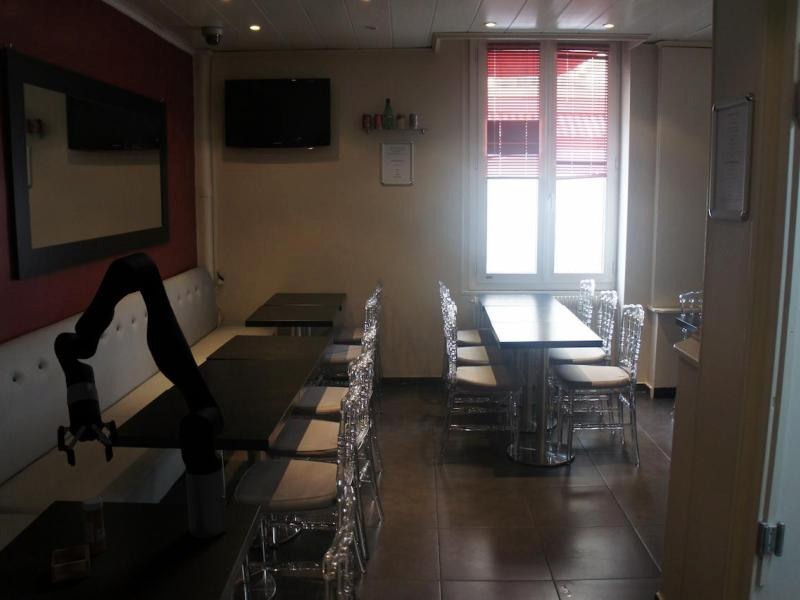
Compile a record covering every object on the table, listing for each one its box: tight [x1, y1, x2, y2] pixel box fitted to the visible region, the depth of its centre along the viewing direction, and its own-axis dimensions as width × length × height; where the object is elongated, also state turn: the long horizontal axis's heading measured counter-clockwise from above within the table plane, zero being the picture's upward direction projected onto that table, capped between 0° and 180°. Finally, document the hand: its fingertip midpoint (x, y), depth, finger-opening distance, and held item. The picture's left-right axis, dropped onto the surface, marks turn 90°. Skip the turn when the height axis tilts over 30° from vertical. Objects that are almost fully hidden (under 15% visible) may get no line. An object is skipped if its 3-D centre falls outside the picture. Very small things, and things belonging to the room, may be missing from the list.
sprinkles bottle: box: [82, 495, 107, 555], centre depth 185 cm, size 5×5×14 cm
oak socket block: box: [50, 543, 91, 584], centre depth 176 cm, size 8×8×4 cm
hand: (91, 463), depth 189 cm, fingers open, 8 cm apart
